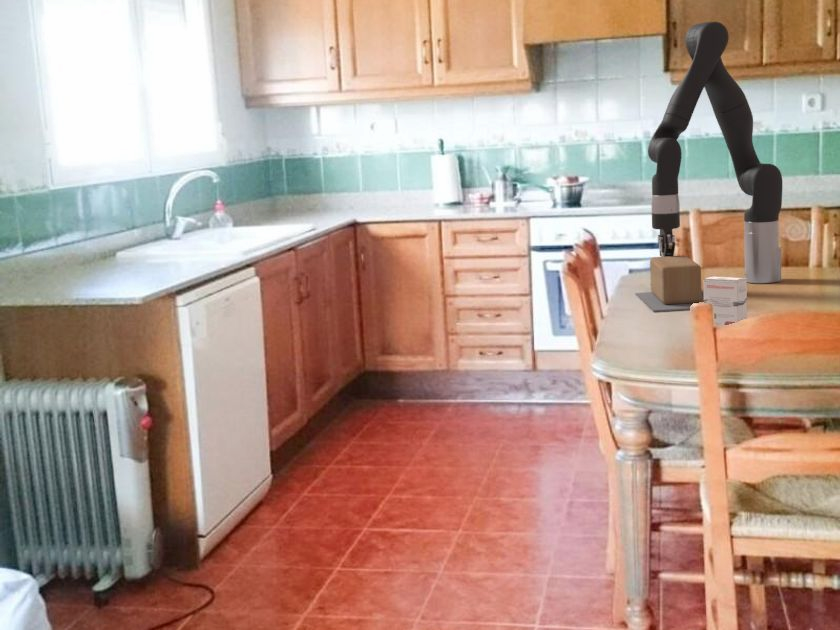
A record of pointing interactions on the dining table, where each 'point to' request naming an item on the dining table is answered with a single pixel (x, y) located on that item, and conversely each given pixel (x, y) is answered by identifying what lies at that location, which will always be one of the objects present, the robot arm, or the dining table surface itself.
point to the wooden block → (675, 279)
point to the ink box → (726, 298)
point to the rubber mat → (659, 306)
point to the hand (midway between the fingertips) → (666, 273)
